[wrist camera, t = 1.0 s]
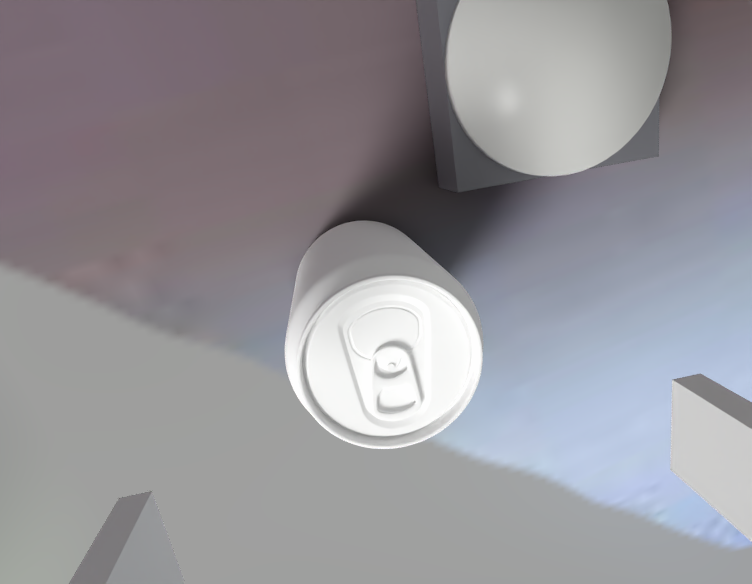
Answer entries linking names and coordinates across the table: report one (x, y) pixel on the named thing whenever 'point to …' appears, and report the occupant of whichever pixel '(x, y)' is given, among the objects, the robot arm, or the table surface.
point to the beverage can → (380, 338)
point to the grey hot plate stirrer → (541, 85)
